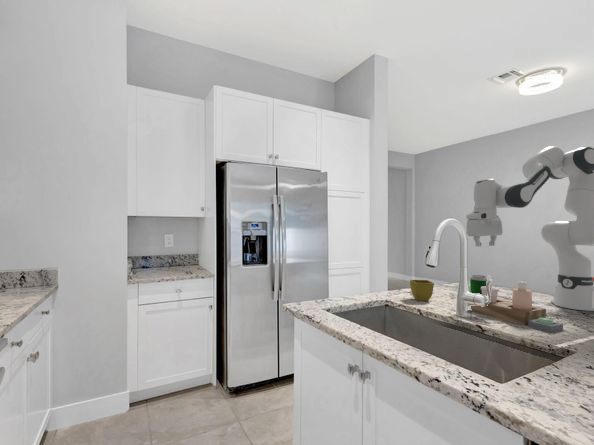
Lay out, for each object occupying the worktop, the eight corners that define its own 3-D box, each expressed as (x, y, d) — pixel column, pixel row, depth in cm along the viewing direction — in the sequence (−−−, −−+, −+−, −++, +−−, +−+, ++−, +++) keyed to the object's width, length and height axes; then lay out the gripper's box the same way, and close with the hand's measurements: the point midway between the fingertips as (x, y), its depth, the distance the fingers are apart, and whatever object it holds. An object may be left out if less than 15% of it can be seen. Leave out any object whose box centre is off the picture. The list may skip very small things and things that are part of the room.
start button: (542, 327, 114) (542, 317, 114) (555, 330, 110) (555, 320, 110) (535, 328, 112) (535, 318, 112) (548, 332, 108) (548, 321, 108)
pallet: (488, 309, 140) (488, 296, 140) (545, 323, 120) (546, 308, 120) (468, 312, 134) (468, 299, 134) (524, 327, 114) (524, 312, 114)
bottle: (518, 316, 125) (518, 280, 126) (535, 320, 120) (535, 282, 120) (508, 318, 123) (509, 281, 123) (525, 322, 117) (525, 283, 118)
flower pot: (434, 302, 152) (434, 283, 152) (415, 301, 152) (415, 282, 153) (427, 298, 161) (427, 279, 161) (409, 297, 161) (409, 279, 161)
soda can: (490, 303, 152) (490, 277, 152) (473, 302, 154) (473, 276, 154) (484, 299, 160) (484, 275, 160) (468, 298, 161) (468, 274, 161)
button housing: (540, 327, 116) (540, 318, 116) (563, 332, 109) (563, 324, 109) (528, 329, 113) (528, 320, 113) (551, 335, 106) (551, 326, 106)
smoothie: (498, 314, 128) (498, 278, 128) (479, 311, 132) (480, 277, 132) (498, 310, 134) (499, 276, 134) (481, 308, 137) (481, 275, 137)
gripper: (492, 215, 153) (492, 244, 153) (463, 215, 144) (463, 246, 144) (506, 215, 147) (506, 245, 147) (477, 214, 138) (477, 247, 138)
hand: (485, 246), depth 145 cm, fingers open, 8 cm apart
